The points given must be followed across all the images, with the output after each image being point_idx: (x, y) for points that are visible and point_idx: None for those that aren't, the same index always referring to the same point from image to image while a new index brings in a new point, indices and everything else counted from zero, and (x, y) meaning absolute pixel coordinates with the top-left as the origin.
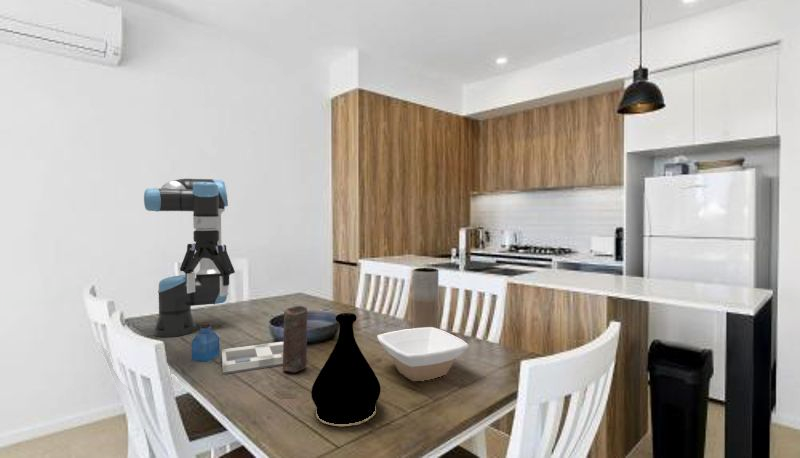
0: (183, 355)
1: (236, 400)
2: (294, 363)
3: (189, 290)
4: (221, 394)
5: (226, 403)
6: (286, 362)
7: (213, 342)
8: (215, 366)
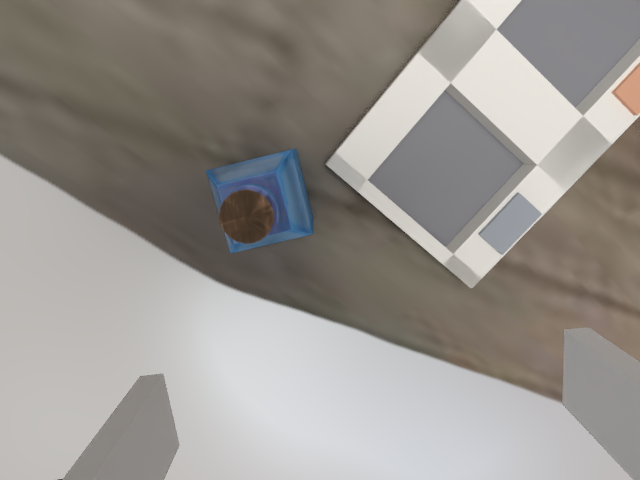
0: (168, 214)
1: None
2: None
3: (167, 456)
4: None
5: None
6: None
7: (302, 192)
8: (379, 239)
